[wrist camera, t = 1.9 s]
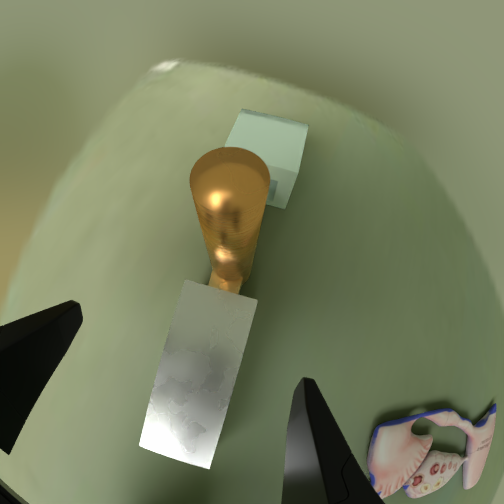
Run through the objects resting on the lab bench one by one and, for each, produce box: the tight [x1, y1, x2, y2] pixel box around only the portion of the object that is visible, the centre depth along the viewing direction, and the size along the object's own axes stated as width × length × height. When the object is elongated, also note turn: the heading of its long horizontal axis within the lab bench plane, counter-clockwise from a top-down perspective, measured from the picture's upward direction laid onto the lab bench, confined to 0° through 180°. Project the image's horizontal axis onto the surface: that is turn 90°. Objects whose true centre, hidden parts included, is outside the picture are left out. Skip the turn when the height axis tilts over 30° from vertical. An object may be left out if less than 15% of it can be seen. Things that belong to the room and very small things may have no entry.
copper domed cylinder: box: [190, 147, 270, 295], centre depth 15 cm, size 20×3×13 cm, turn 165°
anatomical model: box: [367, 403, 496, 499], centre depth 16 cm, size 20×3×15 cm
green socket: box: [224, 109, 309, 209], centre depth 23 cm, size 6×6×6 cm
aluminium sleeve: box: [139, 279, 258, 469], centre depth 18 cm, size 12×5×5 cm, turn 165°
